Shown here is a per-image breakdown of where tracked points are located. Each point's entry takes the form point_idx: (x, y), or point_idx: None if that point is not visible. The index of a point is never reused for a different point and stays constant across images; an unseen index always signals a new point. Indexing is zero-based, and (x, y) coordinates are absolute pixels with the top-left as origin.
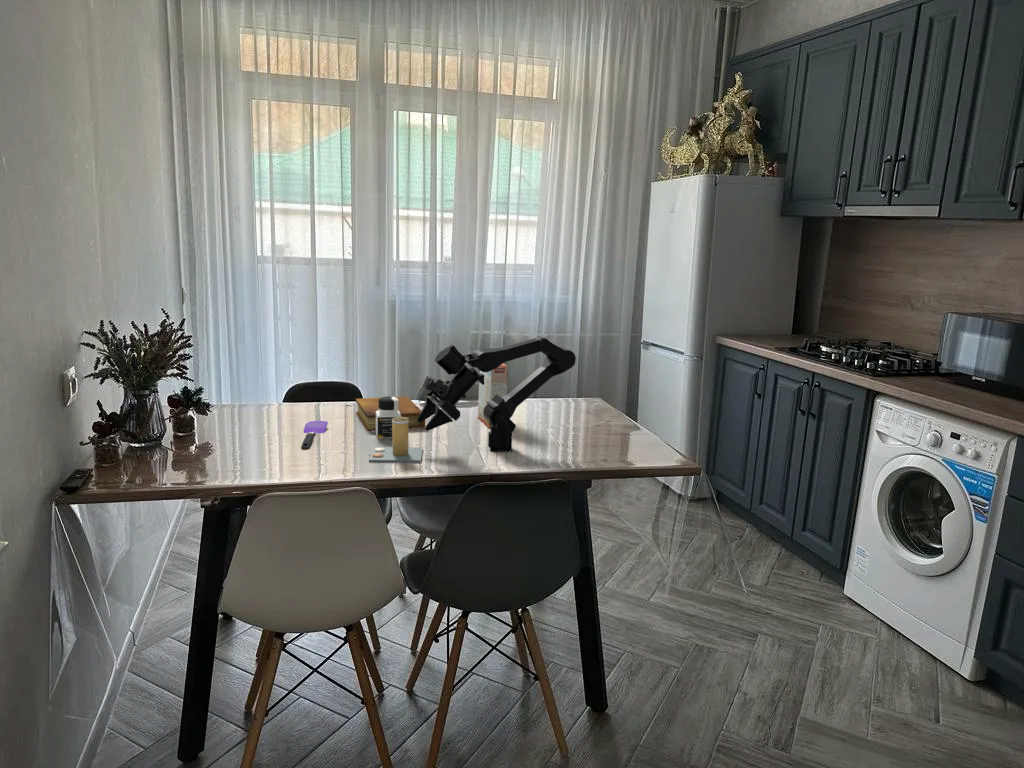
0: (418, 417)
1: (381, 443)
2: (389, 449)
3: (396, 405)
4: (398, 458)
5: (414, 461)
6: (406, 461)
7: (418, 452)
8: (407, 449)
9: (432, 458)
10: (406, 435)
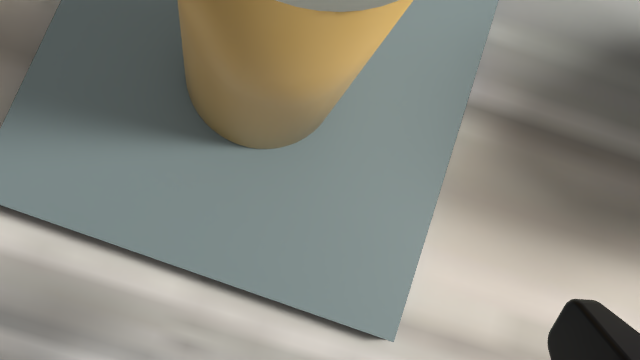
0: (622, 332)
1: (635, 42)
2: (411, 22)
3: None
4: (117, 7)
5: (2, 135)
6: (36, 63)
7: (241, 251)
8: (210, 112)
9: (71, 355)
10: (192, 31)
